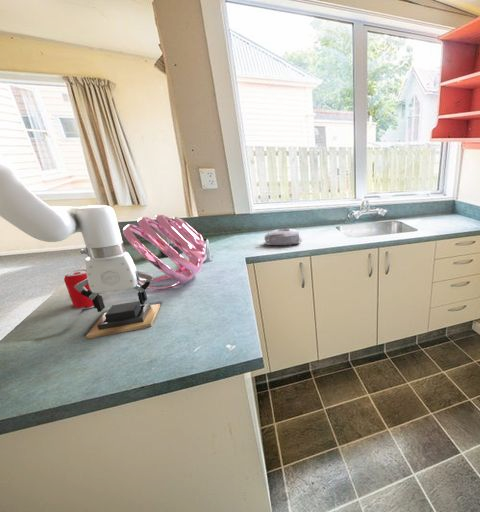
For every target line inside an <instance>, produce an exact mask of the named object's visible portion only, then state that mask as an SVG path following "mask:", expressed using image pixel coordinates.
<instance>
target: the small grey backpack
mask: <svg viewBox="0 0 480 512" xmlns="http://www.w3.org/2000/svg"><path fill="white" fill-rule="evenodd" d="M263 239H264V240H265V244H266V245H268V246H277V245H285V246H292V244H293V245H297V244H300V242H301V233H300V231H299V230H298V229H294V228H293V229H292V228H278V229H273V230H271V231H269V232H267V233H266V234H265V235H264V238H263Z"/></svg>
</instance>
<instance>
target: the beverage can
mask: <svg viewBox="0 0 480 512" xmlns="http://www.w3.org/2000/svg"><path fill="white" fill-rule="evenodd" d="M85 279H87V273H86V269H76V270H72V271H68V272H66V273H64V279H63V281H64V283H65V287H66V289H67V292H68V294H69V298H70V300H71V303H72V306H73V308H78V309H79V308H80V309H81V308H82V309H81V310H82V311H84V310H89V309H93V308H95V307H94V304H93V301H92V300H91V299H89V297H86V296H84V295H82V294H81V293H80V292H79V291H78V290H76V289H75V288H74V286H75V285H76V284H78V283H80V282H82V281H84V280H85ZM84 287H85V288H86V289H88V290H90V287H89V284H87V285H85V286H84Z"/></svg>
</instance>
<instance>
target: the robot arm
mask: <svg viewBox="0 0 480 512" xmlns="http://www.w3.org/2000/svg"><path fill="white" fill-rule="evenodd" d="M0 217H1V218H2V219H4V220H5V221H6V222H7V223H9V224H11V225H12V226H14V227H15V228H17V229H18V230H20V231H22V232H23V233H25V234H27V236H29V237H31V238H34V239H36V240H38V241H41V242H47V243H57V242H63V241H64V240H66V239H68V238H69V237H70V236H72V235H74V234H76V233H81V235H82V237H83V242H84V244H85V245H84V246H85V247H84V248H80V250H79V252H80V254H81V255H87V257H86V258H85V270H86V273H87V279H85V280H84V281H82V282H80V283H78V284H76V285H75V286H74V288H75V289H76V290H78V291H79V292H80V293H81V294H82V295H84V296H86V297H89V299H91V300H92V301H93V304H94V307H93V308H94V309H96V310H97V312H98V313H101V312H103V310H104V309H105V308H106V306H105V302H104V298H103V296H102V295H101V294H106V293H112V292H119V291H127V290H131V289H133V290H136V291H137V297H138V301H139V302H140V305H144V304H146V302H147V301H148V295H147V292H146V290H147V289H148V288H147V287H148V286H150V285H151V283H152V282H151V281H152V279H153V278H154V275H153V274H152V273H148V272H147V273H146V272H143V271H138V270H137V267H136V264H135V262H134V260H133V258H132V256H131V255H130V253H129V252H127V251H126V250H125V249H126V248H125V245H124V241H123V238H122V233H121V229H120V226H119V222H118V219H117V216H116V212H115V209H114V208H113V207H112V206H109V205H103V204H102V205H101V204H100V205H99V204H97V205H86V206H61V205H60V206H59V205H57V206H50V205H49V204H47V203H46V202H45V201H43V200H42V199H40V197H38V196H37V195H36V194H35V193H33V192H32V191H31V190H30V189H29V188H28V187H27V186H26V184H25V183H24V182H23V181H22V180H21V178H20V176H19V173H18V171H17V169H16V167H15V166H14V165H13V163H12V162H10V161H9V160H8V159H6V158H5V157H3V156H2V155H1V154H0ZM139 279H146V282H144V283H142V282H141V281H139ZM87 284H89V287H90V290H88V289H86V288H85V287H84V286H85V285H87Z"/></svg>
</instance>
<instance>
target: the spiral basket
mask: <svg viewBox="0 0 480 512" xmlns="http://www.w3.org/2000/svg"><path fill="white" fill-rule="evenodd" d="M155 219H156V220H154V219H153V218H151V217H149V216H141V217H140V218H138V219H137V224H138V225H136V224H133V223H129V224H127V225H125V226H124V227H123V229H122V234H123V236H124V237H125V239H126V240H127V242H128V243H129V244H130V245H131V246H132V248H134V250H136V252H138V253H139V254H140V255H141V256H142V257H143V258H144V259H145V260H146V261H147V262H149V263H150V264H151V265H153V266H154V267H155V268H156V269H158V270H159V271H160V272H162V273H163V274H165V275H163V276H159V277H153V278H152V281H151V283H155V282H160V281H161V282H162V281H167V280H169V279H173V280H175V281H177V282H176V283H175V284H171V285H167V286H150V285H149V286H148V287H147V288H146V289H149V290H154V291H155V290H157V291H158V290H159V291H161V290H162V291H163V290H169V289H175V288H177V287H180V286H182V285H184V284H187V283H190V282H191V281H192V280H193V279H194V277H195V276H196V275H198V274H199V273H201V271H202V269H203V264H204V263H205V262H204V261H205V260H206V257H207V254H206V252H205V247H206V243H205V241H204V240H203V239H204V238H203V236H202V234H201V233H200V232H197V231H196V230H195V229H194V228H193V227H192V226H191V225H189V224H188V223H187V221H185V220H184V219H182V218H180V217H177V216H173V219H171V218H170V217H168V216H167V215H164V214H155ZM154 228H155V229H156V230H158V231H159V232H160V233H162V234H163V235H164V236H166V237H167V238H168V239H169V240H170V241H172V242H173V243H174V244H175V245H176V246H177V247H178V248H179V249H180V250H181V251H182V253H183V254H184V255H186V257H187V258H188V259H187V258H185V257H184V256H183V255H181V254H179V253H178V252H176V251H175V250H174V249H173V248H172V247H171V246H170V245H168V244H167V243H166V242H165V241H164V240H163V239H162V238H161V237H160V236H159V235H158V234H157V233H156V232H155V229H154ZM174 228H175V229H176V230H177V231H176V230H175V229H174ZM134 233H135V234H136V235H138V236H139V237H142V238H143V239H145V240H146V241H148V243H150V244H152V245H153V246H154V247H156V248H157V249H158V250H159V251H160V250H161V251H162V252H163V253H164V254H165V255H166V256H168V258H169V260H170V261H172V262H173V264H175V266H176V267H177V269H176V270H175V269H172V268H171V267H170V266H169V265H167V264H166V263H164V262H163V261H162V260H161V259H159V258H158V257H157V256H156V255H155V254H153V253H152V252H151V251H150V250H149V249H148V248H147V247H146V246H145V245H144V244H143V243H142V242H141V240H139V239H138V238H137V237H136V235H135V234H134ZM183 236H184V237H185V238H186V239H187V240H188V241H189V242H190V243H189V242H188V241H187V240H185V239H184V238H183ZM198 243H199V244H200V245H199V244H198ZM139 282H141V283H142V282H144V283H145V282H146V279H145V278H139Z"/></svg>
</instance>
